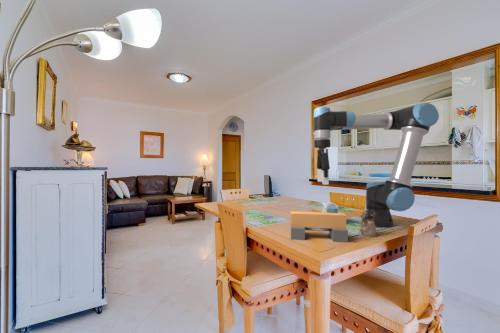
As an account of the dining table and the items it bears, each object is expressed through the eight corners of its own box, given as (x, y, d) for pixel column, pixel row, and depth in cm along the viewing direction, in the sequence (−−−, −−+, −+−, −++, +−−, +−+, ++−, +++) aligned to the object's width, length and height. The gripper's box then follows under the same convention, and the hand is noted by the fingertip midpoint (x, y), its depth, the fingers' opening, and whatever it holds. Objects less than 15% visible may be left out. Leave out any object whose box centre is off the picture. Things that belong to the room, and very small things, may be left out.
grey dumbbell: (342, 235, 113) (342, 224, 113) (347, 242, 103) (347, 230, 103) (290, 232, 117) (290, 222, 116) (291, 239, 107) (291, 228, 107)
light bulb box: (339, 225, 130) (339, 205, 130) (326, 225, 131) (326, 205, 130) (332, 220, 141) (332, 202, 141) (321, 220, 141) (321, 201, 141)
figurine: (359, 231, 119) (360, 207, 118) (375, 233, 115) (376, 208, 115) (358, 235, 112) (359, 210, 112) (376, 237, 109) (376, 211, 109)
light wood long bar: (343, 226, 110) (343, 213, 110) (346, 229, 105) (346, 215, 105) (290, 223, 114) (290, 211, 114) (290, 226, 109) (290, 213, 109)
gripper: (310, 141, 129) (311, 180, 130) (318, 137, 105) (319, 185, 105) (325, 141, 129) (325, 180, 129) (336, 136, 104) (336, 185, 104)
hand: (322, 183), depth 117 cm, fingers open, 13 cm apart
